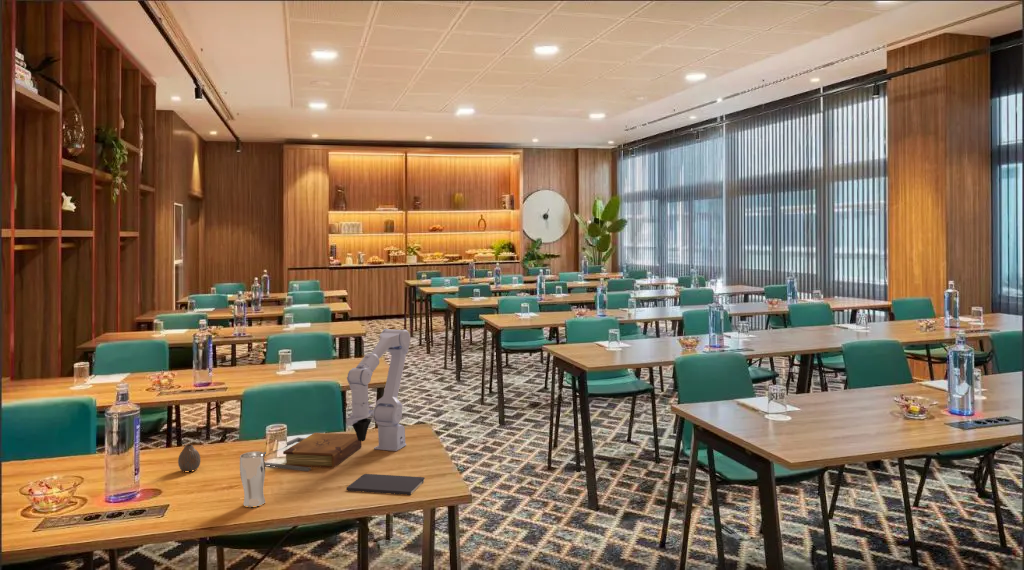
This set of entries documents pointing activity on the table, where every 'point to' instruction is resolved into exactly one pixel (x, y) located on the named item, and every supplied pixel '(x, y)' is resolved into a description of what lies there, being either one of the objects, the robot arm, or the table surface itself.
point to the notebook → (386, 484)
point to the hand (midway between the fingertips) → (361, 440)
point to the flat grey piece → (290, 465)
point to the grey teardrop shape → (189, 458)
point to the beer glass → (253, 477)
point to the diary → (322, 450)
